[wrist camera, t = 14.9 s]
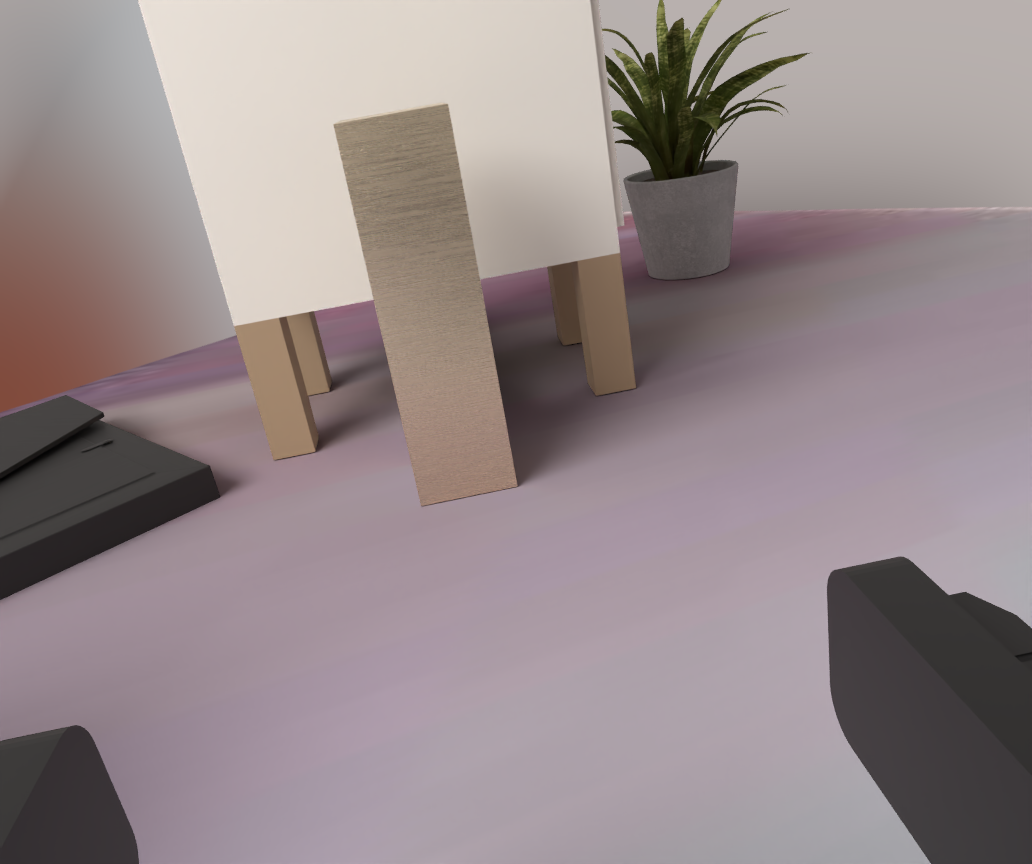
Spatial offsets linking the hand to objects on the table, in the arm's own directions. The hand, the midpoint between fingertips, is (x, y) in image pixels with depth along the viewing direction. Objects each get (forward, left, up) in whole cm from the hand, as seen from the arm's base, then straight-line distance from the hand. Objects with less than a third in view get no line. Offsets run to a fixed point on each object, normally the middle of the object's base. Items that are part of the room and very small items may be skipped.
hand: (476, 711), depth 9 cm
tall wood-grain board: (0, -30, -7) cm, 31 cm away
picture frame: (+23, -25, -8) cm, 35 cm away
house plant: (-16, -46, -7) cm, 50 cm away
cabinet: (0, -33, -7) cm, 34 cm away
